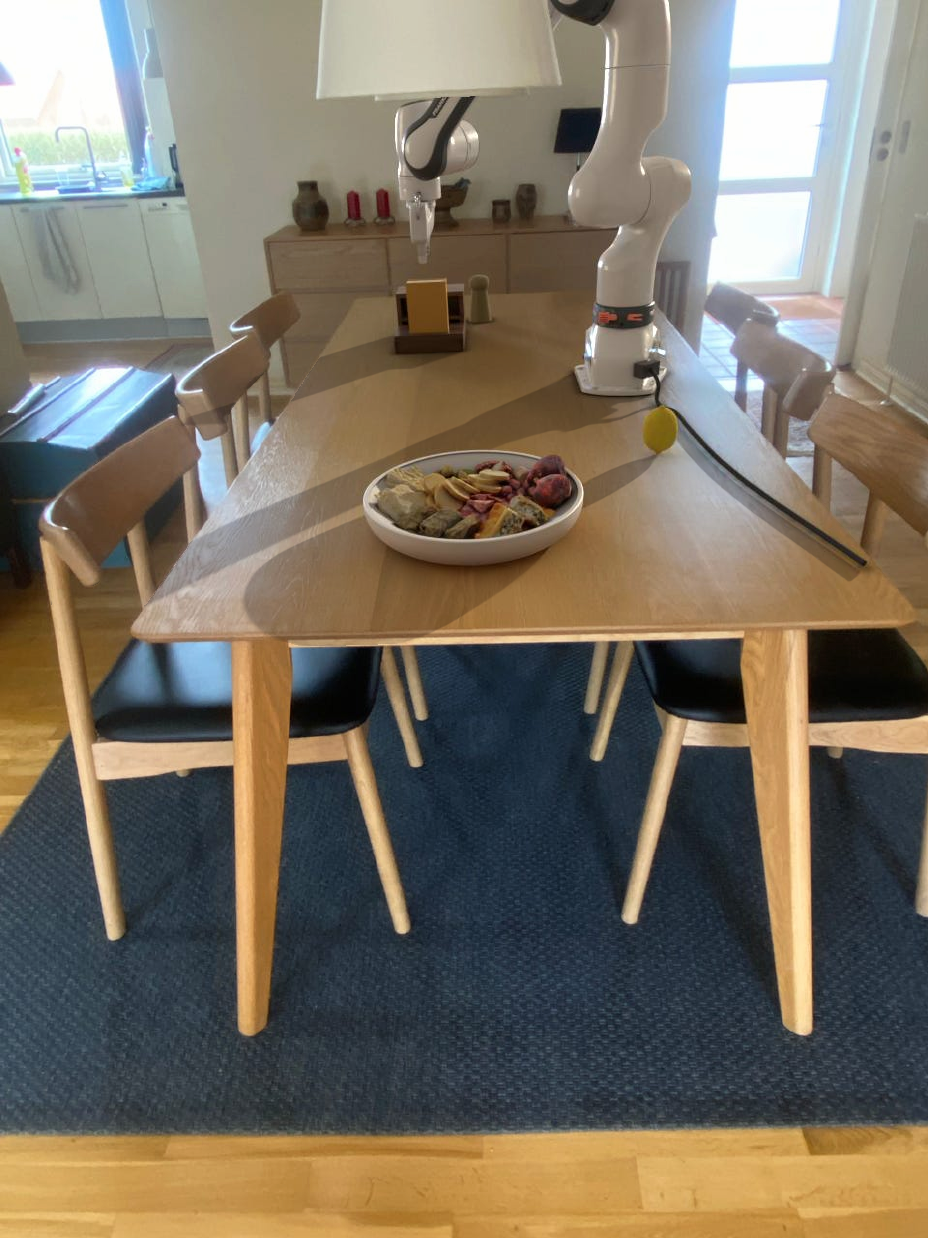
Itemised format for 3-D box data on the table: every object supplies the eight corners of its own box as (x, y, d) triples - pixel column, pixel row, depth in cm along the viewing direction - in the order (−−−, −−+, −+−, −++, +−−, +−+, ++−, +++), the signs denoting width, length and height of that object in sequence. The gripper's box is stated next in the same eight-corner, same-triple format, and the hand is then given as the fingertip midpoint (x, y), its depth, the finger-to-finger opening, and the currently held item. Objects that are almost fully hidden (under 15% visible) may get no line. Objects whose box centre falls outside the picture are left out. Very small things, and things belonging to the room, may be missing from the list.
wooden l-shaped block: (463, 351, 190) (461, 301, 184) (395, 353, 191) (390, 304, 185) (466, 329, 207) (464, 283, 201) (402, 332, 208) (399, 286, 202)
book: (448, 331, 190) (445, 281, 184) (409, 333, 190) (405, 283, 184) (448, 327, 193) (446, 277, 187) (410, 329, 194) (407, 279, 188)
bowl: (411, 599, 99) (406, 541, 94) (340, 505, 122) (333, 455, 118) (624, 543, 108) (628, 488, 104) (521, 466, 131) (520, 418, 127)
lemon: (634, 451, 134) (637, 403, 130) (662, 445, 136) (666, 397, 132) (653, 462, 130) (657, 413, 126) (682, 456, 132) (687, 407, 127)
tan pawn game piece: (477, 316, 218) (475, 272, 212) (496, 318, 215) (495, 273, 209) (464, 321, 214) (462, 276, 208) (483, 323, 211) (481, 278, 205)
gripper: (431, 194, 167) (435, 267, 175) (437, 183, 184) (440, 250, 192) (400, 196, 167) (406, 268, 175) (409, 185, 184) (413, 251, 192)
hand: (424, 259), depth 184 cm, fingers open, 8 cm apart
